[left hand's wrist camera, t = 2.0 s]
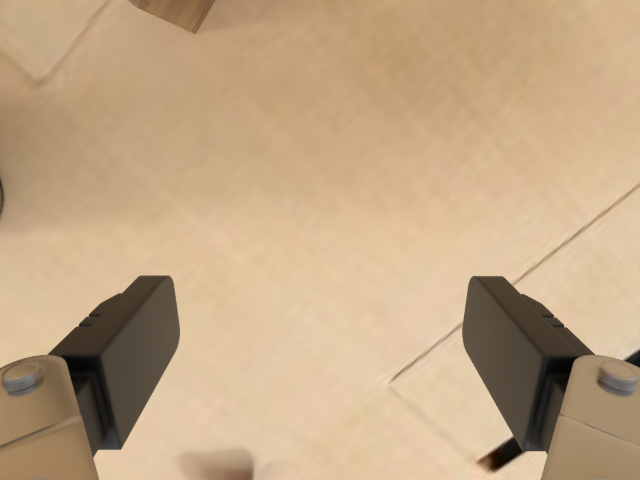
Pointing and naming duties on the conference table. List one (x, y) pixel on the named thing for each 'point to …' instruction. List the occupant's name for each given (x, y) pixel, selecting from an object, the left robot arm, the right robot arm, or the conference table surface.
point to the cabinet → (177, 11)
